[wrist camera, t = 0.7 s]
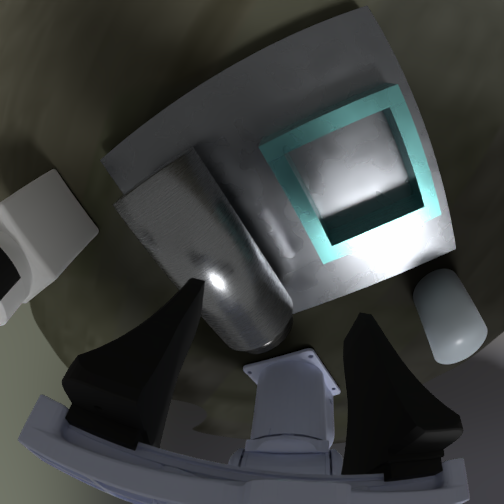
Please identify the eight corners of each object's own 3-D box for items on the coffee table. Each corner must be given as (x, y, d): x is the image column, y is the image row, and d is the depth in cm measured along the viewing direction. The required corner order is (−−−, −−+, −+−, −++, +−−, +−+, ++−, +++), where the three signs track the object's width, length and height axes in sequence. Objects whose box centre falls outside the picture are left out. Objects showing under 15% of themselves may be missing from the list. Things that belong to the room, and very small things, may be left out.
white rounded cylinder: (460, 298, 24) (485, 348, 18) (417, 317, 25) (435, 371, 20) (456, 260, 22) (488, 312, 16) (408, 281, 23) (431, 338, 18)
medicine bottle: (23, 205, 24) (-59, 276, 14) (55, 165, 21) (-49, 239, 11) (63, 260, 27) (-6, 344, 17) (101, 230, 24) (18, 327, 14)
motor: (448, 238, 21) (487, 295, 15) (235, 321, 28) (221, 385, 22) (361, 10, 13) (398, -19, 7) (110, 154, 20) (51, 191, 14)
